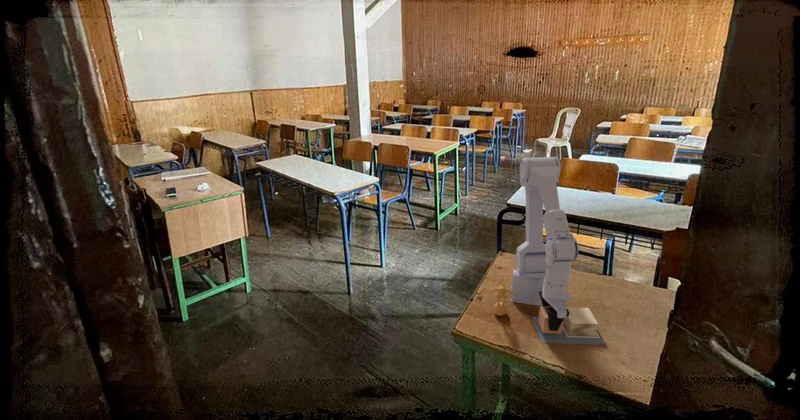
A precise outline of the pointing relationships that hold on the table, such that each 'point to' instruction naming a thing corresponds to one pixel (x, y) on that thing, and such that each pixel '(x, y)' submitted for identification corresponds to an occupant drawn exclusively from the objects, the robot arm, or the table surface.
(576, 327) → the maple base block
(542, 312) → the terracotta cube
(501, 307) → the figurine
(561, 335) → the mat
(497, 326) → the table surface
